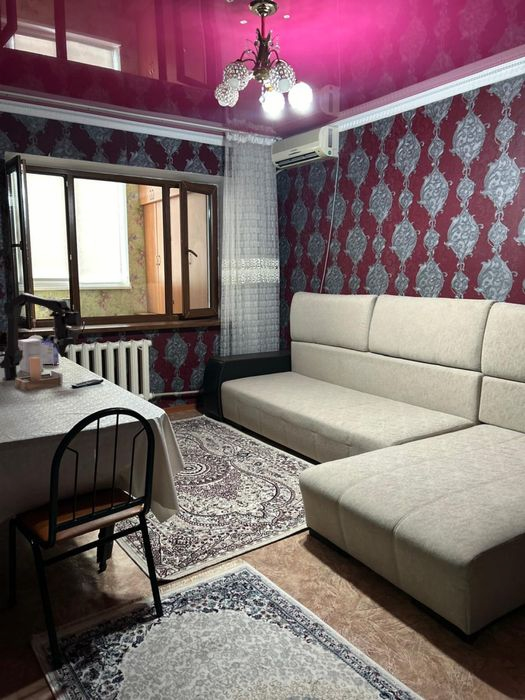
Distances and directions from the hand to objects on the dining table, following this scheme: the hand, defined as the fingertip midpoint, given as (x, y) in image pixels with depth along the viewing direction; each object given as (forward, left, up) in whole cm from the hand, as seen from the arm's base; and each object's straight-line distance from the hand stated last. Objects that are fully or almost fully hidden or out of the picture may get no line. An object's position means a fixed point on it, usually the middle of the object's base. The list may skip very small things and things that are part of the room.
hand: (62, 357), depth 270 cm
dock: (+1, -13, -12) cm, 18 cm away
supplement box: (-38, -1, -13) cm, 40 cm away
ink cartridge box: (-48, +13, -13) cm, 52 cm away
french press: (-64, +13, -13) cm, 67 cm away
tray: (+1, -11, -12) cm, 17 cm away
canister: (+1, -14, -11) cm, 18 cm away
